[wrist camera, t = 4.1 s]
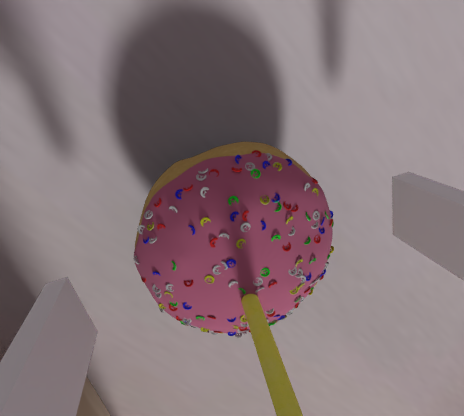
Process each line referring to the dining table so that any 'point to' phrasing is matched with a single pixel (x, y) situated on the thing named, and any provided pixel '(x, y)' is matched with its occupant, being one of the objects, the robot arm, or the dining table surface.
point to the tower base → (91, 402)
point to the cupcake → (236, 247)
